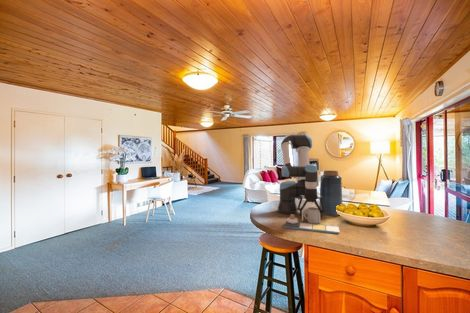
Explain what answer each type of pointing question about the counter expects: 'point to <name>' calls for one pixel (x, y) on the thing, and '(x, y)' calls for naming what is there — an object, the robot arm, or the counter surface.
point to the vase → (330, 192)
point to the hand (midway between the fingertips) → (310, 221)
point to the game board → (313, 227)
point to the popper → (292, 219)
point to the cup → (312, 215)
